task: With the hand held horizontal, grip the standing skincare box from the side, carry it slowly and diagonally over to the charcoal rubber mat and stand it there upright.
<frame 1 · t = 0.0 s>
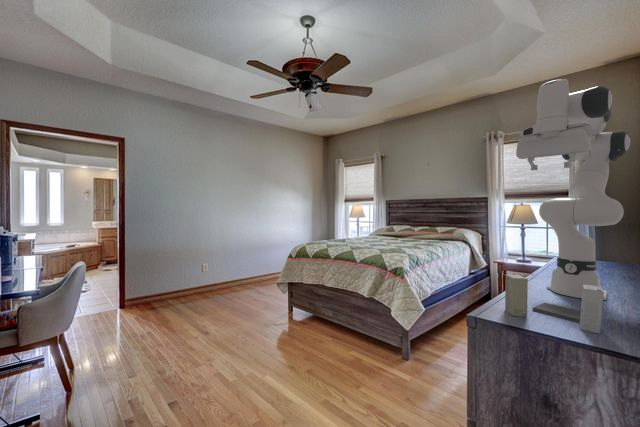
hand: (550, 169, 101), 48 cm above the table, tool pointing down, fingers open, 8 cm apart
charcoal mat: (560, 313, 97), on the table
skincare box: (515, 313, 96), on the table
skincare box 2: (590, 329, 84), on the table
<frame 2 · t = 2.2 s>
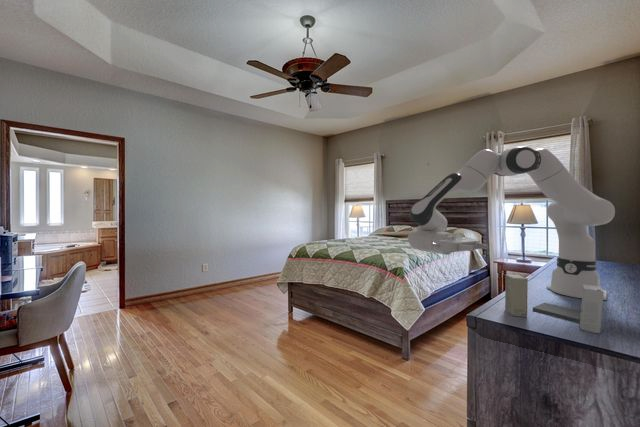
hand: (479, 247, 105), 20 cm above the table, tool horizontal, fingers open, 8 cm apart
nothing on the table moved.
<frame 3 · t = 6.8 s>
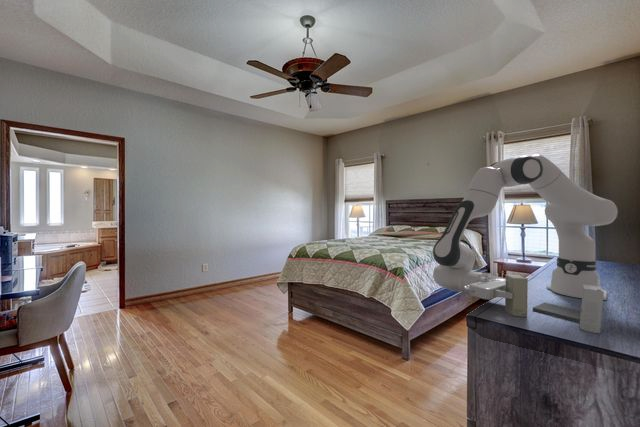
hand: (519, 294, 95), 7 cm above the table, tool horizontal, fingers closed on skincare box, 7 cm apart
skincare box: (515, 313, 96), on the table, touching gripper
everything else where it was.
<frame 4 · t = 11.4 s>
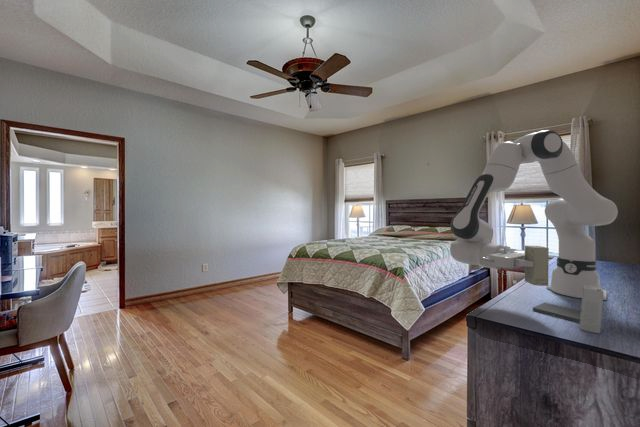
hand: (539, 263, 95), 17 cm above the table, tool horizontal, fingers closed on skincare box, 7 cm apart
skincare box: (535, 284, 96), point 10 cm above the table, touching gripper
everything else where it was.
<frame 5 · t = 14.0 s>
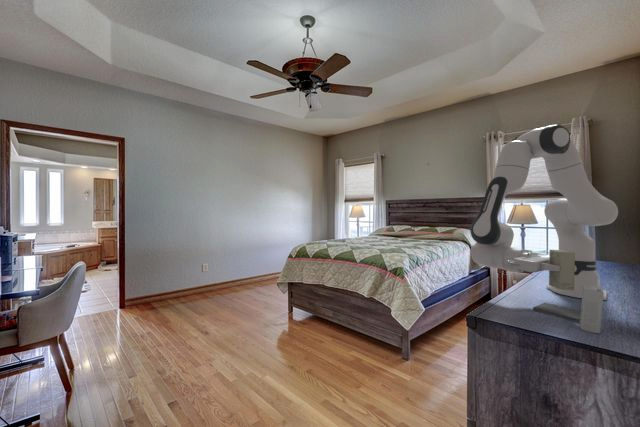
hand: (564, 267, 96), 15 cm above the table, tool horizontal, fingers closed on skincare box, 7 cm apart
skincare box: (560, 288, 97), point 8 cm above the table, touching gripper
everything else where it was.
when the fingers open (9 cm above the table, at t = 16.3 s): skincare box drops 1 cm, resting on charcoal mat.
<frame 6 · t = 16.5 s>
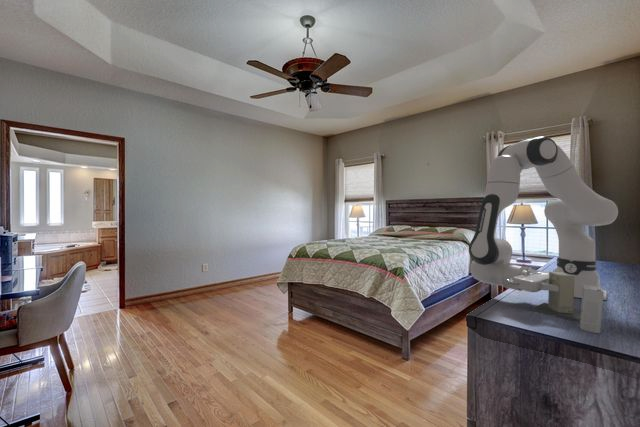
hand: (564, 286, 96), 9 cm above the table, tool horizontal, fingers open, 8 cm apart
skincare box: (559, 310, 97), point 1 cm above the table, touching charcoal mat
everything else where it was.
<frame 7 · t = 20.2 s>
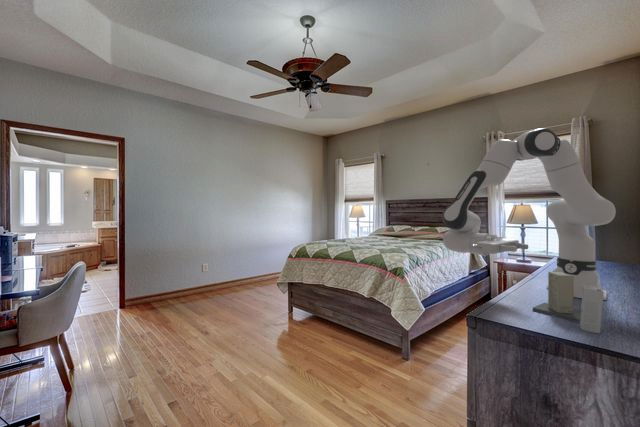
hand: (521, 248, 106), 20 cm above the table, tool horizontal, fingers open, 8 cm apart
nothing on the table moved.
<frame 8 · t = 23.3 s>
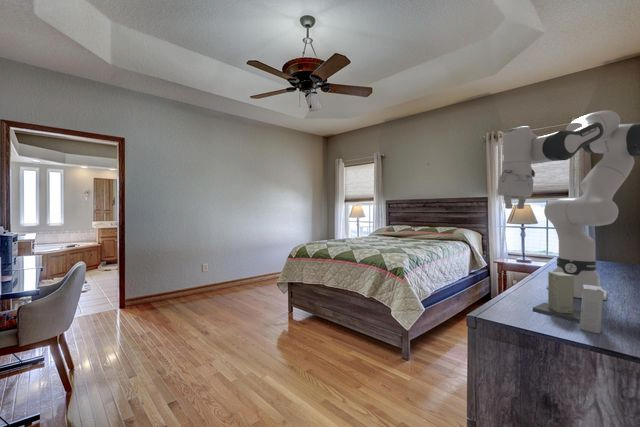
hand: (514, 208, 109), 34 cm above the table, tool pointing down, fingers open, 8 cm apart
nothing on the table moved.
at the end: skincare box inside the target area on the charcoal mat (0.3 cm from its centre), point 0.8 cm above the charcoal mat's base; skincare box tilted 0°; the gripper is holding nothing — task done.
